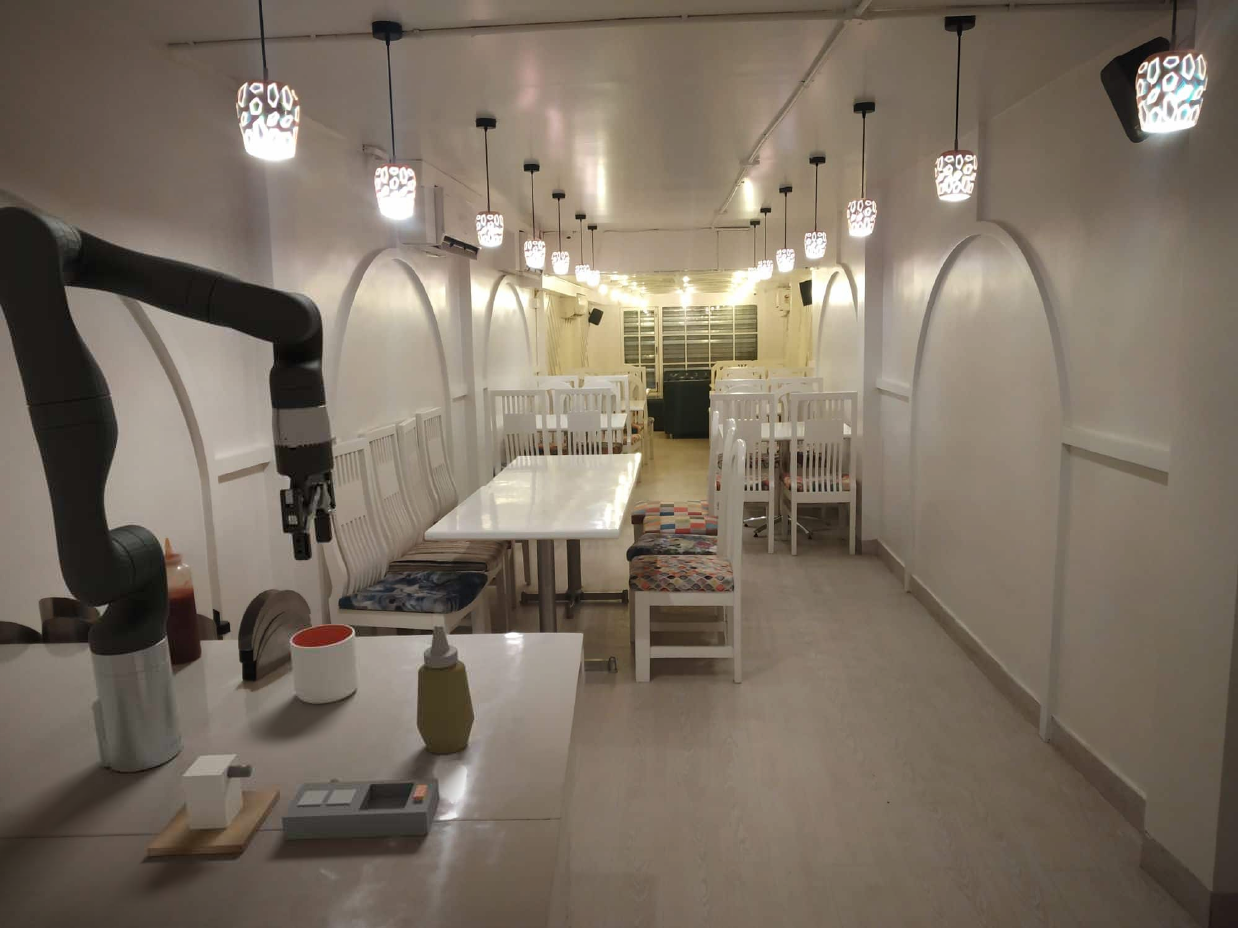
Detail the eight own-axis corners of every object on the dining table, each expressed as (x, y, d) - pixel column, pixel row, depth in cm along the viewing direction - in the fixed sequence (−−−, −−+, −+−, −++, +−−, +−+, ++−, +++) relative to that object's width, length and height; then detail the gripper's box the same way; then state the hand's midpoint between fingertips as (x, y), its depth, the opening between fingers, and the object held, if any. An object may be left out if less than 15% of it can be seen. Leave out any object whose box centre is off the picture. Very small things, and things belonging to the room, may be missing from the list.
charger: (189, 829, 98) (182, 776, 97) (207, 806, 102) (200, 755, 101) (247, 826, 98) (240, 773, 97) (262, 804, 103) (255, 753, 101)
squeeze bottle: (463, 762, 113) (454, 639, 109) (408, 757, 114) (398, 636, 111) (484, 732, 120) (476, 616, 117) (433, 728, 122) (424, 614, 119)
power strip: (284, 839, 97) (281, 812, 96) (317, 785, 108) (314, 760, 107) (427, 834, 97) (425, 807, 97) (445, 780, 108) (443, 755, 108)
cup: (299, 712, 128) (293, 652, 126) (292, 687, 137) (286, 631, 135) (365, 697, 133) (359, 639, 131) (354, 674, 141) (348, 619, 139)
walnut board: (148, 855, 95) (147, 848, 95) (194, 799, 106) (193, 792, 105) (243, 852, 95) (242, 844, 95) (280, 796, 106) (279, 789, 106)
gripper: (294, 431, 121) (305, 537, 124) (254, 448, 107) (267, 567, 110) (345, 430, 121) (355, 536, 124) (311, 446, 107) (323, 565, 110)
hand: (314, 550), depth 117 cm, fingers open, 8 cm apart
